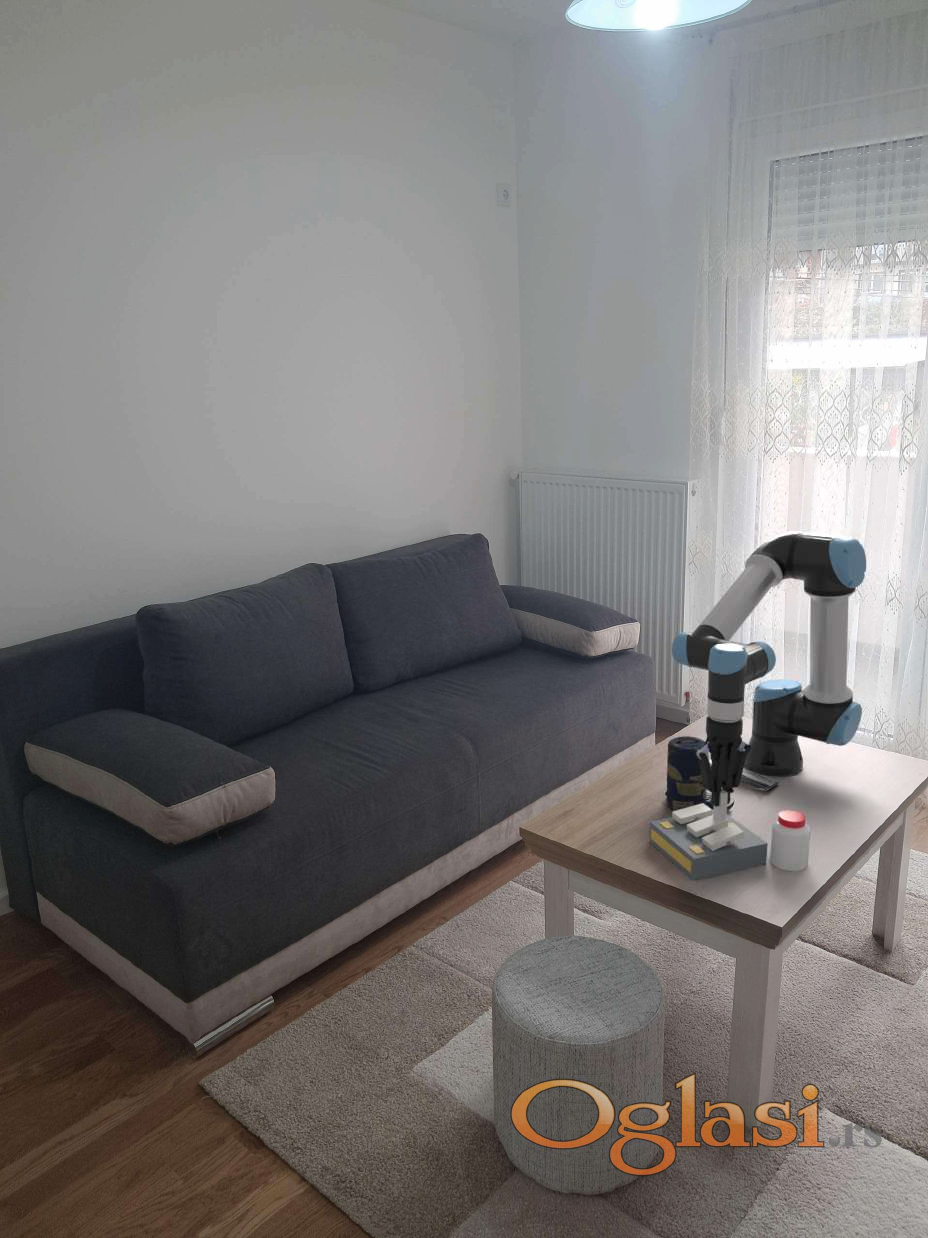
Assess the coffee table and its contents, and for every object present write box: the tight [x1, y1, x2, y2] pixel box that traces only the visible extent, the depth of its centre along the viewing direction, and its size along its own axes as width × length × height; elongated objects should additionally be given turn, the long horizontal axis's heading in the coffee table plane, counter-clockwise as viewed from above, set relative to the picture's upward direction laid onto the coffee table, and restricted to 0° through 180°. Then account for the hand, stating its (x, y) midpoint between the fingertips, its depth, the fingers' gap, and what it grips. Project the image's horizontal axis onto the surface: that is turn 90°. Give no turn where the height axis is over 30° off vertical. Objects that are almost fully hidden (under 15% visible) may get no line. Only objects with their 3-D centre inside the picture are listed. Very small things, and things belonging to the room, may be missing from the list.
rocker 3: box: [702, 824, 744, 851], centre depth 200 cm, size 8×4×2 cm, turn 109°
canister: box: [665, 735, 708, 811], centre depth 226 cm, size 10×10×18 cm
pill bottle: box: [769, 809, 811, 872], centre depth 201 cm, size 8×8×11 cm
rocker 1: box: [671, 803, 713, 824], centre depth 211 cm, size 8×4×2 cm, turn 109°
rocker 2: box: [687, 815, 728, 837], centre depth 205 cm, size 8×4×2 cm, turn 109°
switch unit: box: [649, 808, 769, 881], centre depth 206 cm, size 18×18×5 cm
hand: (719, 818), depth 206 cm, fingers closed
